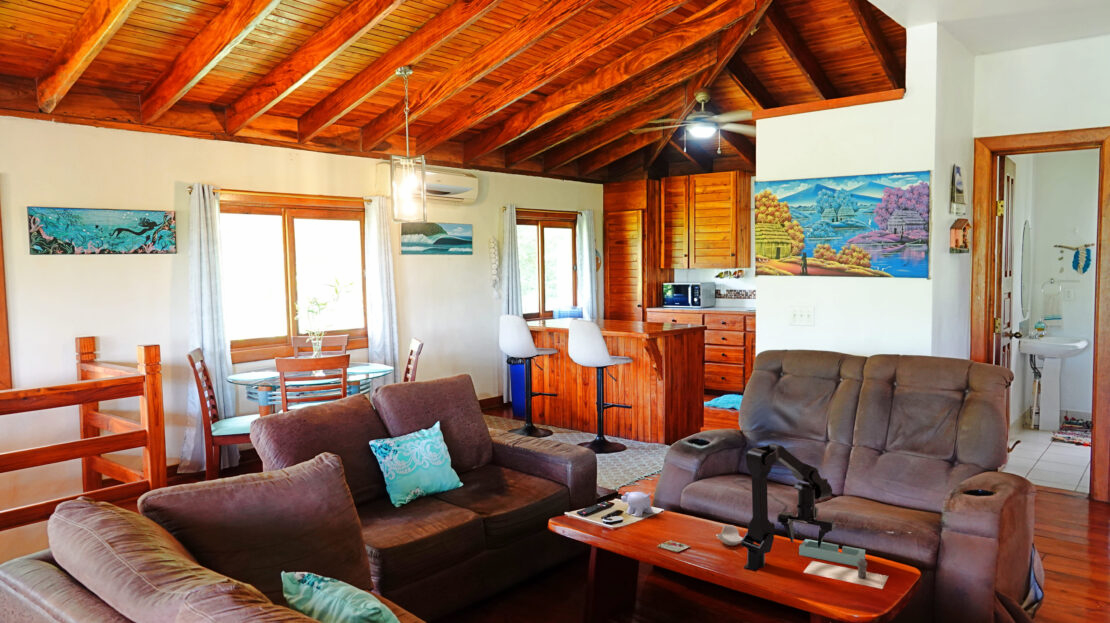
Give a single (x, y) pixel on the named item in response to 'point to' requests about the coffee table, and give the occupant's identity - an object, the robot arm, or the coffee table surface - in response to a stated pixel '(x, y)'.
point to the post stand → (848, 573)
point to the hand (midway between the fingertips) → (805, 544)
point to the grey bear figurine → (637, 503)
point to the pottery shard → (729, 535)
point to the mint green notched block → (831, 552)
